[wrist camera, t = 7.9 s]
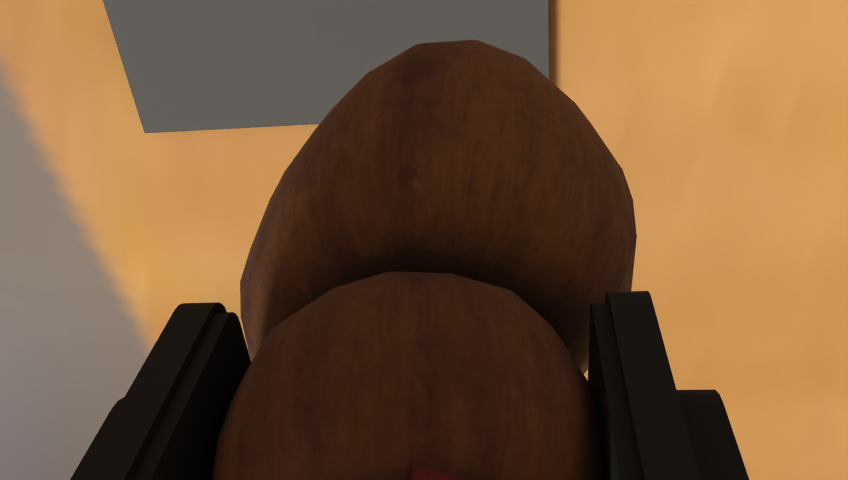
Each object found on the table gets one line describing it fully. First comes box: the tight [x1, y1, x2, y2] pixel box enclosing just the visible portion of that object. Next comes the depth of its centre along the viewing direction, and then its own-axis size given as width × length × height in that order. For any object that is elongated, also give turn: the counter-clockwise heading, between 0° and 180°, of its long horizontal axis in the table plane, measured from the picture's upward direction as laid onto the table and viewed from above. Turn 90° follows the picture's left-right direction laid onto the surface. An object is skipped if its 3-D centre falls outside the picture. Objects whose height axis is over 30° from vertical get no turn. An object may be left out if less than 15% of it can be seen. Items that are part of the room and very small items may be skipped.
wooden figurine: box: [212, 40, 637, 480], centre depth 11 cm, size 7×6×15 cm
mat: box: [103, 0, 549, 133], centre depth 26 cm, size 15×7×1 cm, turn 96°
